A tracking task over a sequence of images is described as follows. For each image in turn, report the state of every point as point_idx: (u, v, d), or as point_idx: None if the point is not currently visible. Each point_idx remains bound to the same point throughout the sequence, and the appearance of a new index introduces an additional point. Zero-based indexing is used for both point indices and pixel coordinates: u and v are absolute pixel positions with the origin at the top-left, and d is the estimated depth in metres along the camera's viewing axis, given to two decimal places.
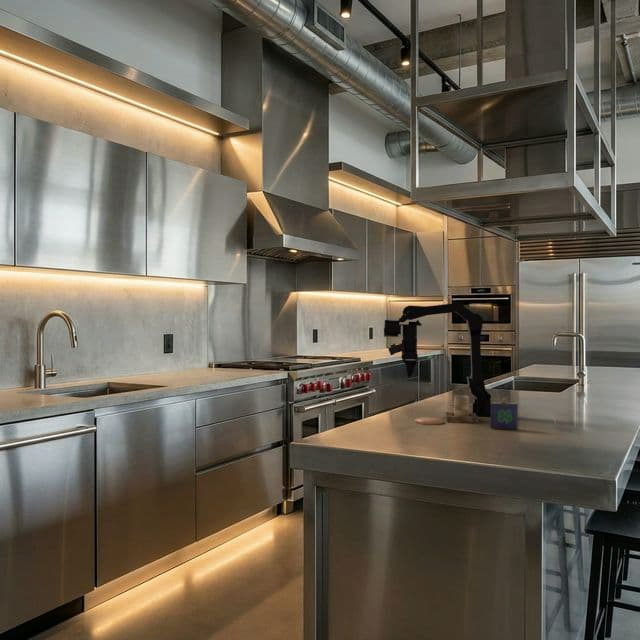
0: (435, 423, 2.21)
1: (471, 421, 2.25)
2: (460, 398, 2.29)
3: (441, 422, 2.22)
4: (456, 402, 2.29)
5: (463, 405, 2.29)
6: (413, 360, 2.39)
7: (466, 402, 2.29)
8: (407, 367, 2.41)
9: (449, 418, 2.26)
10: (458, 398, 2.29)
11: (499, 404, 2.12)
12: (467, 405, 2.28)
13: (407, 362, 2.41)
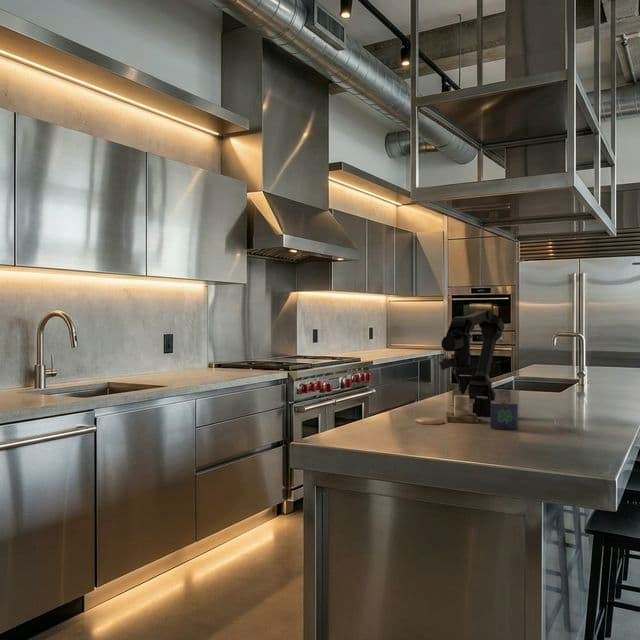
0: (435, 423, 2.21)
1: (471, 421, 2.25)
2: (460, 398, 2.29)
3: (441, 422, 2.22)
4: (456, 402, 2.29)
5: (463, 405, 2.29)
6: (467, 376, 2.23)
7: (466, 402, 2.29)
8: (460, 383, 2.25)
9: (449, 418, 2.26)
10: (458, 398, 2.29)
11: (499, 404, 2.12)
12: (467, 405, 2.28)
13: (460, 378, 2.25)
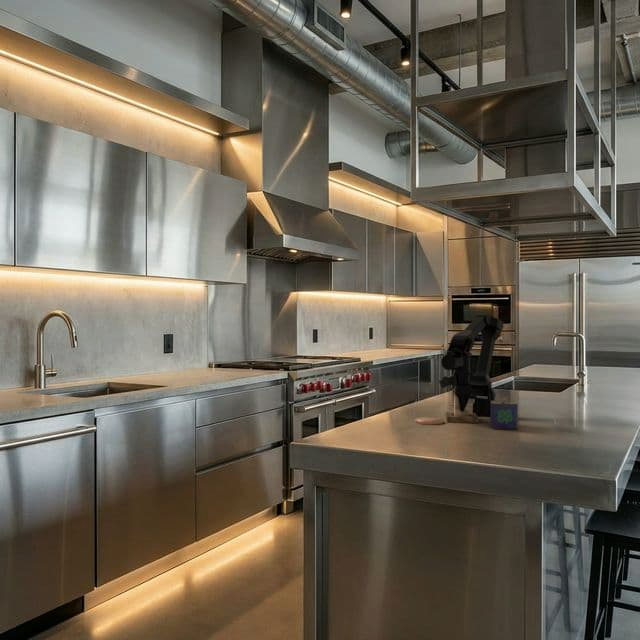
0: (435, 423, 2.21)
1: (471, 421, 2.25)
2: None
3: (441, 422, 2.22)
4: (456, 402, 2.29)
5: None
6: (467, 394, 2.25)
7: None
8: (460, 401, 2.27)
9: (449, 418, 2.26)
10: None
11: (499, 404, 2.12)
12: (467, 405, 2.28)
13: (460, 396, 2.27)
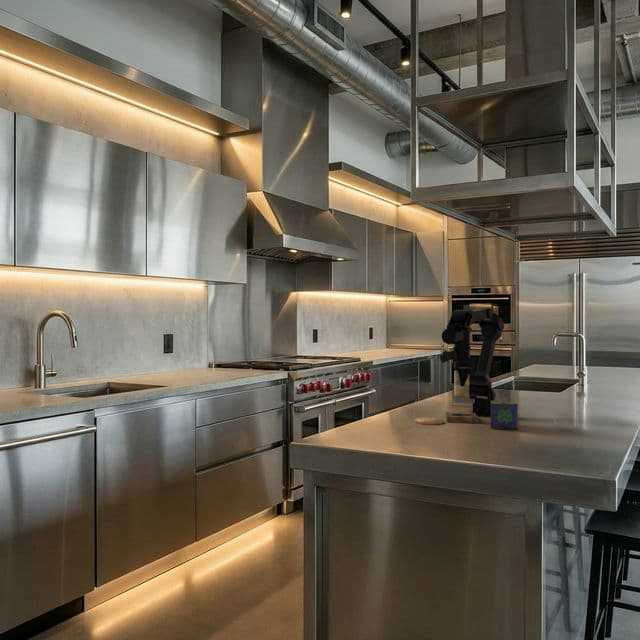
0: (435, 423, 2.21)
1: (471, 421, 2.25)
2: None
3: (441, 422, 2.22)
4: (456, 377, 2.29)
5: None
6: (467, 368, 2.25)
7: None
8: (460, 375, 2.27)
9: (449, 418, 2.26)
10: (458, 373, 2.29)
11: (499, 404, 2.12)
12: (467, 380, 2.28)
13: (460, 370, 2.27)
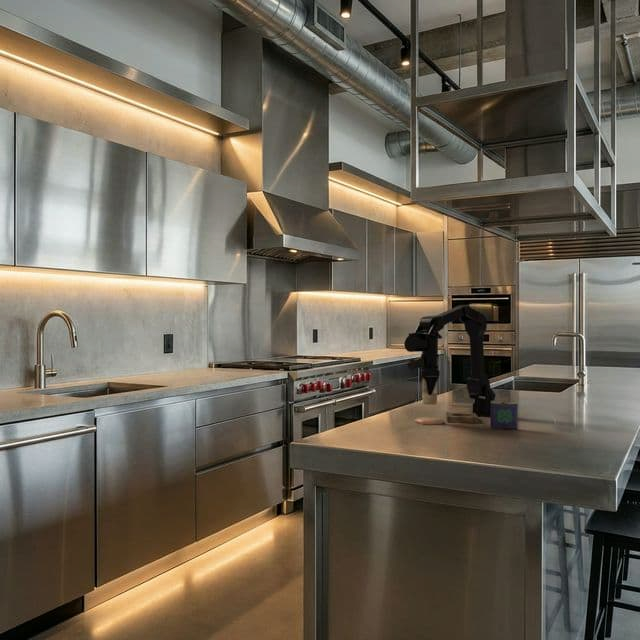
0: (435, 423, 2.21)
1: (471, 421, 2.25)
2: None
3: (441, 422, 2.22)
4: (424, 385, 2.24)
5: None
6: (434, 376, 2.20)
7: None
8: (427, 384, 2.22)
9: (449, 418, 2.26)
10: None
11: (499, 404, 2.12)
12: (435, 388, 2.23)
13: (427, 378, 2.22)
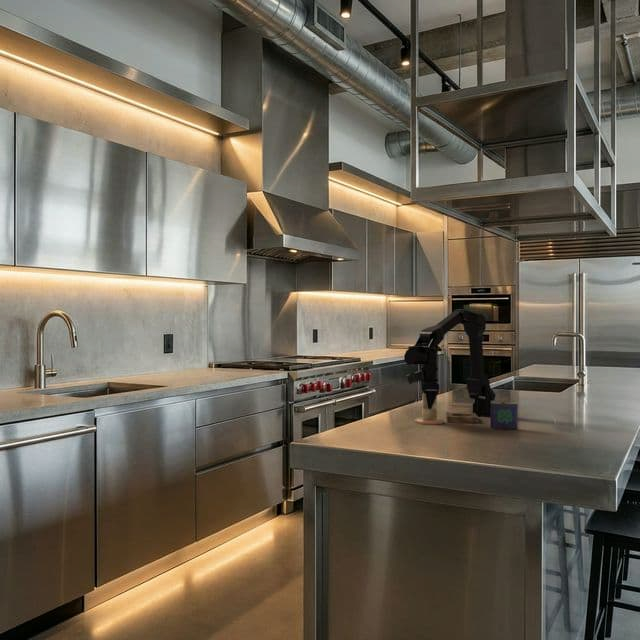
0: (435, 423, 2.21)
1: (471, 421, 2.25)
2: None
3: (441, 422, 2.22)
4: (424, 401, 2.24)
5: None
6: (434, 390, 2.18)
7: (434, 401, 2.23)
8: (427, 398, 2.20)
9: (449, 418, 2.26)
10: None
11: (499, 404, 2.12)
12: (435, 404, 2.23)
13: (427, 392, 2.20)
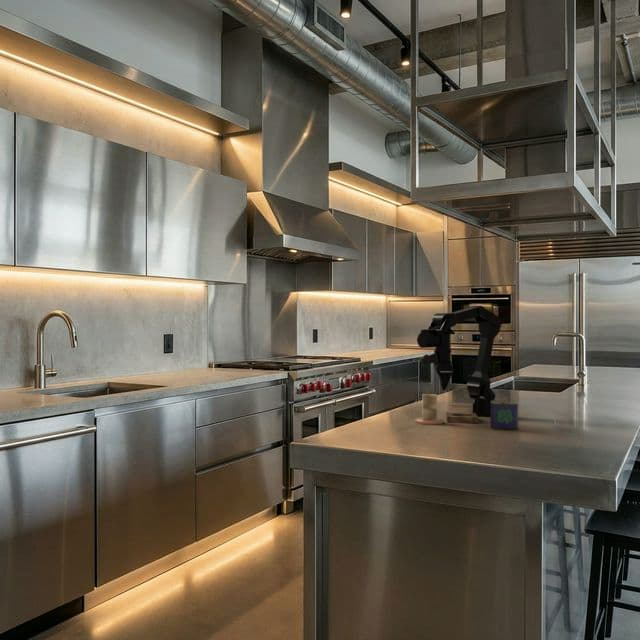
0: (435, 423, 2.21)
1: (471, 421, 2.25)
2: (428, 397, 2.24)
3: (441, 422, 2.22)
4: (424, 401, 2.24)
5: (431, 404, 2.23)
6: (448, 372, 2.24)
7: (434, 401, 2.23)
8: (441, 379, 2.27)
9: (449, 418, 2.26)
10: (426, 397, 2.24)
11: (499, 404, 2.12)
12: (435, 404, 2.23)
13: (441, 374, 2.26)
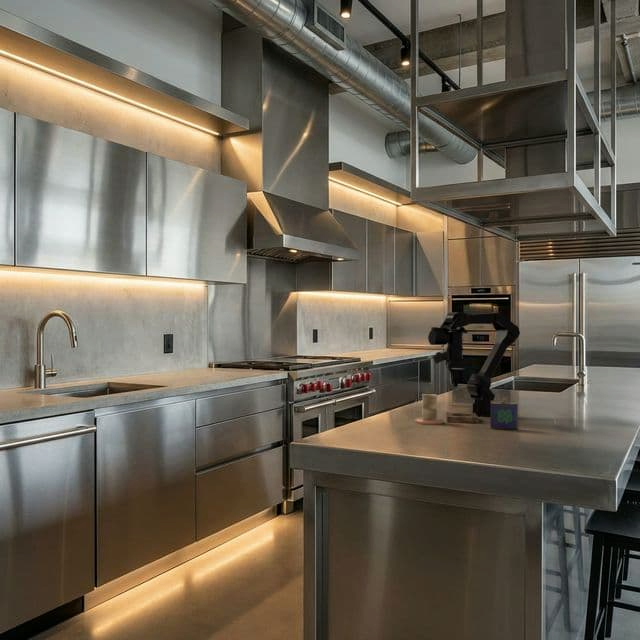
0: (435, 423, 2.21)
1: (471, 421, 2.25)
2: (428, 397, 2.24)
3: (441, 422, 2.22)
4: (424, 401, 2.24)
5: (431, 404, 2.23)
6: (460, 369, 2.31)
7: (434, 401, 2.23)
8: (453, 376, 2.33)
9: (449, 418, 2.26)
10: (426, 397, 2.24)
11: (499, 404, 2.12)
12: (435, 404, 2.23)
13: (453, 371, 2.33)
